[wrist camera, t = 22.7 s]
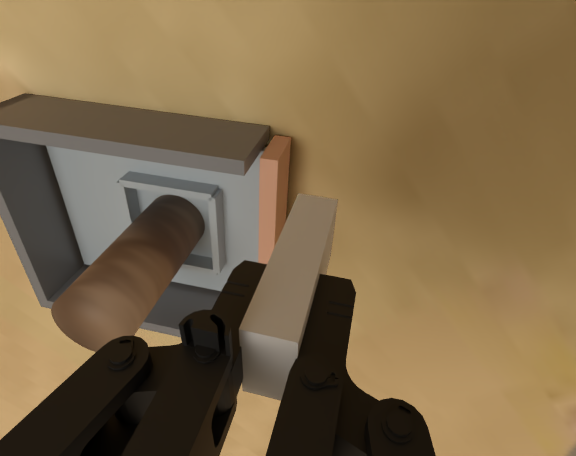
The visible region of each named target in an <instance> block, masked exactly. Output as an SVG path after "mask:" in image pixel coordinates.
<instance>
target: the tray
mask: <svg viewBox="0 0 576 456" xmlns="http://www.w3.org/2000/svg"><path fill="white" fill-rule="evenodd" d="M46 147H47V150H48V154H49V157H50V160H51V163H52V166H53V169H54V172H55V175H56V178H57V181H58V184H59V187H60V190H61V193H62V197H63V200H64V203H65V206H66V209H67V212H68V215H69V218H70V221H71V224H72V227H73V230H74V233H75V236H76V240H77V243H78V246H79V249H80V252H81V255H82V258H83V261H84V264H87V265H91V264H92V263H93V262H94V261H95V260H96V259H97V258H98V257H99V256H100V255H101V254H102V253H103V252H104V251H105V250H106V249H107V248H108V247H109V246H110V245H111V244H112V243H113V242H114V241H115V240H116V239H117V238H118V237H119V236H120V235H121V234H122V233H123V231H124V230H125V229H126V228H127V227H128V226H129V225H130V224H131V223H132V222H133V221H134V220H135V219H136V218H137V217H138V216H139V215H140V214H141V213H142V212H143V211H144V210H145V209H146V208H147V207H148V206H149V205H150V204H151V203H152V202H153V201H154V200H155V199H156V198H158V197H159V196H162V195H176V196H179V197H182V198H184V199H186V200H188V201H189V202H191V203H192V204H193V205H194V206H195V207H196V208H197V209H198V210H199V212H200V213H201V215H202V217H203V219H204V223H205V230H204V234H203V236H202V237H201V238H200V240H199V241H198V243H197V244H196V246H195V247H194V249H193V250H192V252H191V253H190V255H189V256H188V257H187V259H186V260H185V262H184V263H183V265H182V266H181V268H180V269H179V271H178V272H177V273H176V275H175V276H174V278H173V279H172V282H177V283H182V284H187V285H192V286H197V287H202V288H207V289H212V290H217V291H222V289H223V287H224V285H225V283H227V280H228V278H229V276H230V274H231V272H232V270H233V269H234V268H235V267H236V266H238V265H239V264H240V263H241V262H243V261H244V260H248V261H253V262H258V263H263V264H268V261H269V259H270V257H271V254H272V252H273V250H274V248H275V245H276V243H277V241H278V238H279V236H280V234H281V232H282V229H283V227H284V225H285V222H286V211H287V195H288V179H289V163H290V147H291V137H285V136H278V135H275V136H274V137H273V139H272V140H271V142H270V143H269V145H268V146H267V147H264V148H263V149H262V151H261V152H260V154H259V155H258V157H257V158H256V159H255V161H254V162H253V164H252V165H251V167H250V168H249V170H248V171H247V173H246V174H245V176H241V175H234V174H228V173H221V172H215V171H208V170H202V169H195V168H189V167H182V166H176V165H169V164H163V163H156V162H150V161H143V160H137V159H130V158H124V157H117V156H111V155H104V154H98V153H91V152H84V151H78V150H71V149H65V148H58V147H52V146H46Z"/></svg>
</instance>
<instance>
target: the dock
mask: <svg viewBox="0 0 576 456" xmlns="http://www.w3.org/2000/svg"><path fill="white" fill-rule="evenodd" d="M268 140H269V126H265V125H258V124H250V123H243V122H235V121H228V120H220V119H213V118H205V117H198V116H190V115H183V114H175V113H168V112H160V111H152V110H145V109H137V108H130V107H122V106H115V105H107V104H100V103H92V102H85V101H77V100H70V99H62V98H55V97H47V96H40V95H32V94H22V95H19V96H17V97H14V98H11V99H9V100H6V101H3V102H1V103H0V216H1V218H2V220H3V222H4V225H5V227H6V229H7V231H8V234H9V236H10V238H11V240H12V242H13V245H14V247H15V249H16V251H17V254H18V256H19V258H20V260H21V263H22V265H23V267H24V269H25V272H26V274H27V276H28V278H29V281H30V283H31V285H32V287H33V289H34V292H35V294H36V296H37V298H38V301H39V303H40V305H41V307H46V308H50V309H51V308H52V305H53V303H54V302H55V301H56V300H57V299H58V298H59V297H60V296H61V295H62V294H63V293H64V292H65V291H66V290H67V289H68V288H69V287H70V286H71V285H72V283H73V282H74V281H75V280H76V279H77V278H78V277H79V276H80V275H81V274H82V273H83V272H84V271H85V270H86V269H87V268H88V267H89V266H90V265H87V264H84V261H83V258H82V255H81V252H80V249H79V246H78V243H77V240H76V236H75V233H74V230H73V227H72V224H71V221H70V218H69V215H68V212H67V209H66V206H65V203H64V200H63V197H62V193H61V190H60V187H59V184H58V181H57V178H56V175H55V172H54V169H53V166H52V163H51V160H50V157H49V154H48V150H47V147H46V146H52V147H58V148H65V149H71V150H78V151H84V152H91V153H98V154H104V155H111V156H117V157H124V158H130V159H137V160H143V161H150V162H156V163H163V164H169V165H176V166H182V167H189V168H195V169H202V170H208V171H215V172H221V173H228V174H234V175H241V176H245V174H246V173H247V171H248V170H249V168H250V167H251V165H252V164H253V162H254V161H255V159H256V158H257V157H258V155H259V154H260V152H261V151H262V149H263V148H264V146H265V145H266V143H267V142H268ZM221 292H222V291H217V290H212V289H207V288H202V287H197V286H192V285H187V284H182V283H177V282H172V281H171V282H170V284H169V285H168V287H167V288H166V289H165V291H164V292H163V294H162V295H161V297H160V298H159V300H158V301H157V303H156V304H155V306H154V307H153V308H152V310H151V311H150V313H149V314H148V316H147V317H146V319H145V320H144V322H143V323H142V324H141V326H140V327H139V328H141V329H146V330H150V331H155V332H159V333H164V334H169V335H173V336H178V337H181V334H180V330H179V325H178V324H179V323H180V322H181V321H182V320H183V319H184V317H186V316H187V315H189V314H191V313H193V312H195V311H200V310H204V309H205V310H211V309H212V308H213V306H214V304H215V302H216V300H217V298H218V296H219V295H220V293H221Z"/></svg>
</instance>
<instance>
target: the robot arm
mask: <svg viewBox="0 0 576 456" xmlns="http://www.w3.org/2000/svg"><path fill="white" fill-rule="evenodd" d="M337 203H338V199H332V198H326V197H319V196H313V195H307V194H301V193H298V195H297V197H296V200H295V202H294V204H293V207H292V209H291V211H290V213H289V216H288V218H287V220H286V222H285V225H284V227H283V229H282V232H281V234H280V236H279V238H278V241H277V243H276V245H275V248H274V250H273V252H272V254H271V257H270V259H269V261H268V264H263V263H258V262H253V261H248V260H244V261H243V262H241V263H240V264H239V265H238V266H236V267H235V268H234V269H233V270H232V272H231V274H230V276H229V278H228V280H227V283H225V285H224V287H223V289H222V292H221V293H220V295H219V296H218V298H217V300H216V302H215V304H214V306H213V308H212V309H211V310H205V309H204V310H200V311H195V312H193V313H191V314H189V315H187V316H186V317H184V319H183V320H182V321H181V322H180V323H179V324H178V325H179V330H180V334H181V339H182V343H181V344H177V345H171V346H157V347H148V345H147V343H146V342H145V341H144V340H143V339H142V338H140V337H136V336H133V335H131V336H121V337H118V338H116V339H113V340H111V341H110V342H108V343H107V344H105V345H104V346H102V347H101V348H100V349H99V350H98V351H97V352H96V353H95V354H94V355H93V356H92V357H90V358H89V359H88V360H87V361H86V362H85V363H84V364H83V365H82V366H81V367H80V368H78V369H77V370H76V371H75V372H74V373H73V374H72V375H71V376H70V377H69V378H67V379H66V380H65V381H64V382H63V383H62V384H61V385H60V386H59V387H58V388H57V389H55V390H54V391H53V392H52V393H51V394H50V395H49V396H48V397H47V398H46V399H45V400H43V401H42V402H41V403H40V404H39V405H38V406H37V407H36V408H35V409H34V410H33V411H31V412H30V413H29V414H28V415H27V416H26V417H25V418H24V419H23V420H22V421H21V422H19V423H18V424H17V425H16V426H15V427H14V428H13V429H12V430H11V431H10V432H9V433H7V434H6V435H5V436H4V437H3V438H2V439H1V440H0V456H219V455H220V452H221V450H222V447H223V444H224V441H225V439H226V436H227V433H228V430H229V428H230V425H231V422H232V419H233V417H234V414H235V411H236V406H237V394H238V391H239V389H240V386H241V383H242V387H243V391H246V392H250V393H254V394H258V395H262V396H265V397H269V398H273V399H277V400H281V403H280V407H279V410H278V414H277V417H276V421H275V425H274V428H273V432H272V435H271V439H270V442H269V446H268V449H267V453H266V456H436V455H435V452H434V448H433V445H432V441H431V437H430V434H429V430H428V427H427V425H426V422H425V420H424V418H423V416H422V415H421V414H420V413H419V412H418V411H417V410H416V408H415V407H414V406H412V405H410V404H408V403H407V402H405V401H403V400H399V399H394V398H389V399H383V400H380V401H379V400H377V399H375V398H374V397H372V396H370V395H369V394H367V393H365V392H364V391H362V390H361V389H360V388H358V387H357V386H356V385H355V384H354V382H353V381H352V380H351V378H350V376H349V375H348V372H347V369H346V355H347V349H348V342H349V335H350V329H351V322H352V316H353V309H354V302H355V296H356V292H355V289H354V286H353V284H352V281H351V280H350V279H345V278H339V277H334V276H329V275H326V272H327V268H328V264H329V260H330V256H331V249H332V241H333V233H334V226H335V218H336V210H337Z"/></svg>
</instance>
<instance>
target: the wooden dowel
mask: <svg viewBox="0 0 576 456" xmlns="http://www.w3.org/2000/svg"><path fill="white" fill-rule="evenodd" d="M204 230H205V223H204V219H203V217H202V215H201V213H200V212H199V210H198V209H197V208H196V207H195V206H194V205H193V204H192V203H191V202H189V201H188V200H186V199H184V198H182V197H179V196H176V195H162V196H159V197H158V198H156V199H155V200H154V201H153V202H152V203H151V204H150V205H149V206H148V207H147V208H146V209H145V210H144V211H143V212H142V213H141V214H140V215H139V216H138V217H137V218H136V219H135V220H134V221H133V222H132V223H131V224H130V225H129V226H128V227H127V228H126V229H125V230H124V231H123V233H122V234H121V235H120V236H119V237H118V238H117V239H116V240H115V241H114V242H113V243H112V244H111V245H110V246H109V247H108V248H107V249H106V250H105V251H104V252H103V253H102V254H101V255H100V256H99V257H98V258H97V259H96V260H95V261H94V262H93V263H92V264H91V265H90V266H89V267H88V268H87V269H86V270H85V271H84V272H83V273H82V274H81V275H80V276H79V277H78V278H77V279H76V280H75V281H74V282H73V283H72V285H71V286H70V287H69V288H68V289H67V290H66V291H65V292H64V293H63V294H62V295H61V296H60V297H59V298H58V299H57V300H56V301H55V302H54V303H53V305H52V308H51V312H52V317H53V319H54V321H55V323H56V324H57V326H58V327H59V328H60V329H61V331H62V332H63V333H64V334H65V335H67V336H68V337H69V338H70V339H72V340H73V341H74V342H76V343H78V344H79V345H81V346H83V347H85V348H87V349H90V350H92V351H95V352H97V351H98V350H99V349H100V348H101V347H102V346H104V345H105V344H107V343H108V342H110V341H111V340H113V339H116V338H118V337H121V336H131V335H133V336H134V335H135V333H136V332H137V330H138V329H139V327H140V326H141V324H142V323H143V322H144V320H145V319H146V317H147V316H148V314H149V313H150V311H151V310H152V308H153V307H154V306H155V304H156V303H157V301H158V300H159V298H160V297H161V295H162V294H163V292H164V291H165V289H166V288H167V287H168V285H169V284H170V282H171V281H172V279H173V278H174V276H175V275H176V273H177V272H178V271H179V269H180V268H181V266H182V265H183V263H184V262H185V260H186V259H187V257H188V256H189V255H190V253H191V252H192V250H193V249H194V247H195V246H196V244H197V243H198V241H199V240H200V238H201V237H202V236H203V234H204Z"/></svg>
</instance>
